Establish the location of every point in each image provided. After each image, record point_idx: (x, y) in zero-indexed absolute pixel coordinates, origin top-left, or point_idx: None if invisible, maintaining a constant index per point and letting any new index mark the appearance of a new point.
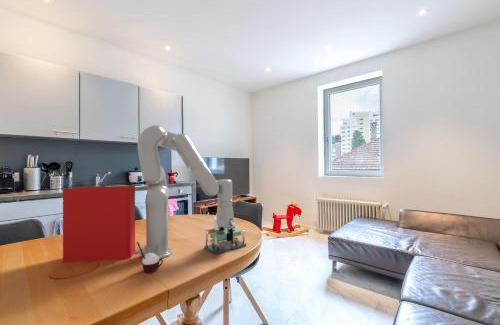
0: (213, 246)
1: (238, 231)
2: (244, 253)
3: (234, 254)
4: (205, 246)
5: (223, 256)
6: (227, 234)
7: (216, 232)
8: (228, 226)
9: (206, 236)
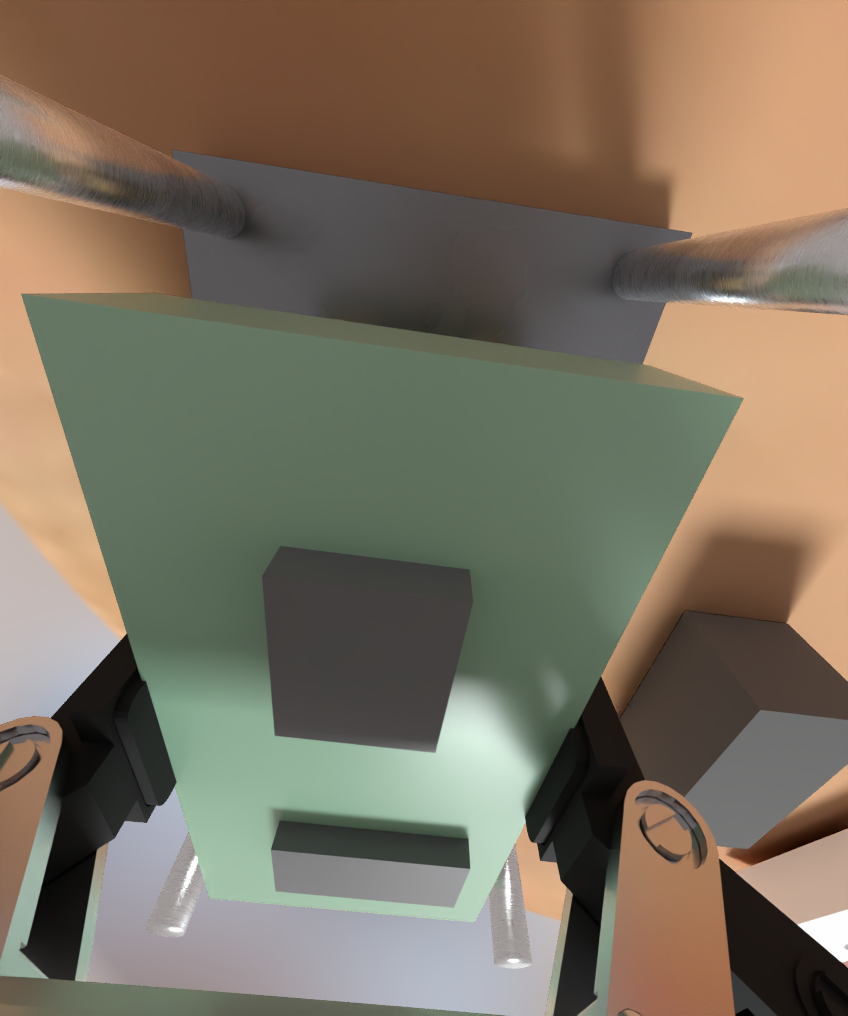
0: None
1: (214, 875)
2: (40, 541)
3: (57, 434)
4: (642, 231)
5: (39, 241)
6: (95, 679)
7: (569, 617)
8: (827, 891)
9: (802, 222)
